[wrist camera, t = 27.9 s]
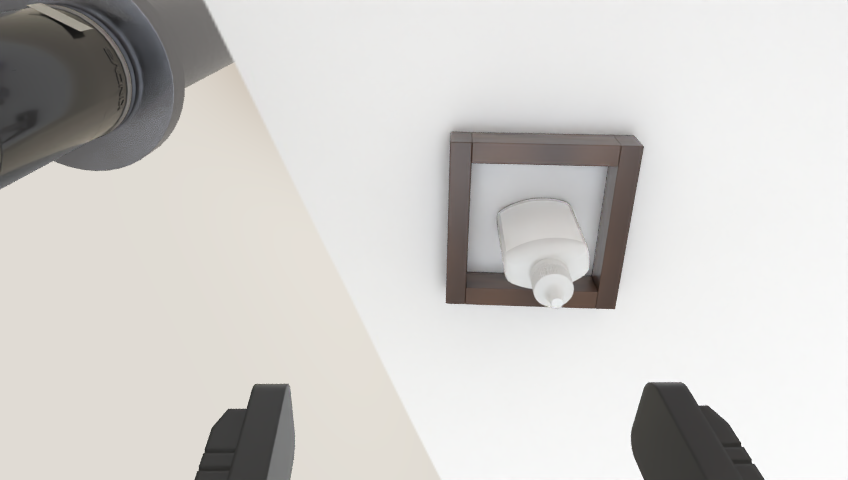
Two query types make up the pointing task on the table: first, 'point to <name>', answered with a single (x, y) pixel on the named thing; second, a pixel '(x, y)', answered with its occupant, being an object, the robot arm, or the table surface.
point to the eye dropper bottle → (543, 248)
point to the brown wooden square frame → (543, 150)
